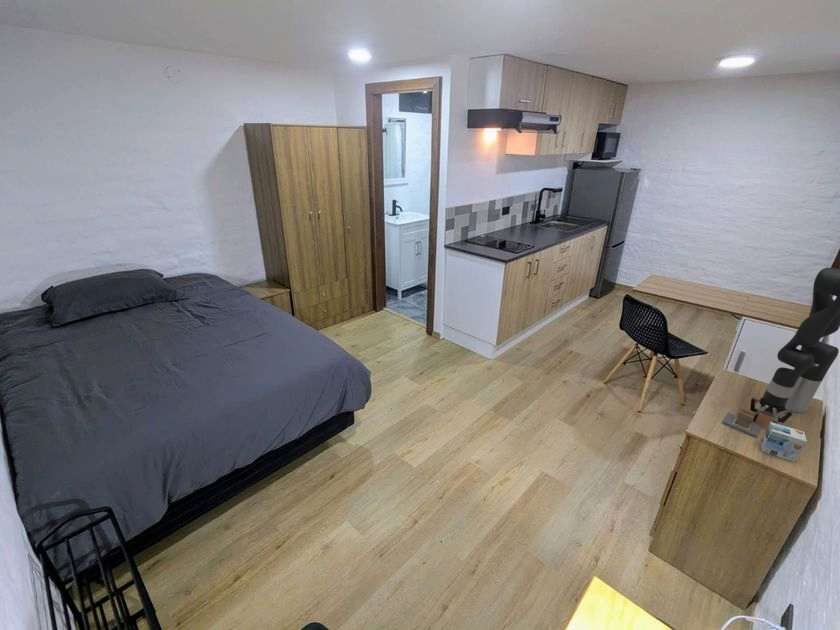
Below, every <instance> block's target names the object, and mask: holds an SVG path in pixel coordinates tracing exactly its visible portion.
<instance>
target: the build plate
mask: <svg viewBox="0 0 840 630" xmlns="http://www.w3.org/2000/svg"><path fill="white" fill-rule="evenodd" d="M737 416H738V415H736V414H734V413H732V412H727V413H726V415H725V417H724V419H723V420H722V423H721V424H722V425H724V426H726V427H730V428H731V429H734V430H736V431H737V432H741V433H743V434H746V435H748V436H751V437H753V438H755V439H757V438H758V435H759V433H760V430H761V429H762V426H761V425H759V424H756V423H755V421H752V423H751V425H750V427H749V429H746V428H744V427H742V426H739V425H737V424H734V422H735V420H736V418H737Z"/></svg>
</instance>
